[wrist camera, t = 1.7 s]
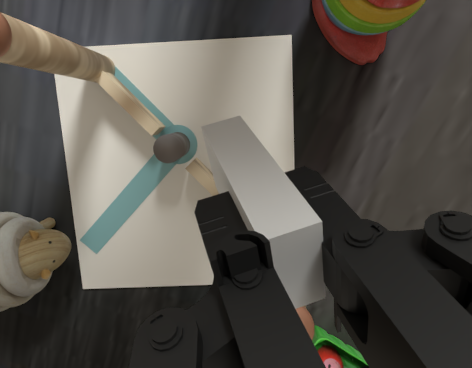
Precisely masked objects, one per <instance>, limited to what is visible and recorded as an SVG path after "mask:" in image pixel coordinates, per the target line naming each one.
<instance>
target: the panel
mask: <svg viewBox="0 0 472 368" xmlns="http://www.w3.org/2000/svg"><path fill="white" fill-rule="evenodd" d="M185 169H186V170H187V171H188V172H189V173H190V174H191V175H192V176H193V177H194V178H195V179H196V180H197V181H198V182H199V183H200V184H201V185H202V186H203V187H204V188H205V189H206V190H207V191H208V192H209V193H210V194H211V195H212V196H214V195H217V194H219V193H218V191H217V188H216V186H215V181H214V177H213V173H212V172H211V171H210V170H209V169H208V168H207V167H206V166H205V165H204V164H203V163H202V162H201V161H200V160H199V159H198V158H197V157H196V158H195V159H194V160H193V161H192V162H191V163H190V164H189V165H188V166H187V167H186V168H185ZM296 311H297V313H298V315H299V317H300V319H301V321H302V322H303V324H304V326H305V328H306V330H307V332H308V334H309V336H310V338H311V340H313V337H314V322H313V319H312V317H311V315H310V313H309V312H308V310H307V309H306V306H302V307H299V308H297V309H296Z"/></svg>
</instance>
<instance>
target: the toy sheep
mask: <svg viewBox="0 0 472 368" xmlns="http://www.w3.org/2000/svg"><path fill="white" fill-rule="evenodd" d="M54 226H55V220H54V219H53V218H47V219H45V220H43V221H41V222H38V221H36V220H34V219H32V218H28V217H23V216H22V215H20V214H17V213H14V212H0V312H1V311H4V310H6V309H8V308H10V307H16V306H19V305H22V304H24V303H26V302H27V301H28V300H30V299H31V298H32V297H33V296H34V294H36V293H38V292H40V291H41V290H42V289H43V288H44V287H45V286H46V285H47V283H48V282H49V280H50V278H51V275H52V272H53V271H54V270H55V269H56V268H58V267H59V266H60V265H61V264H62V263H63V262H64V261H65V260H66V258H67V257H68V255H69V253H70V250H71V241H70V239H69V238H68V236H66V235H65V234H64V233H62V232H60V231H58V230H53V229H51V228H53V227H54Z"/></svg>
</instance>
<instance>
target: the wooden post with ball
mask: <svg viewBox="0 0 472 368" xmlns="http://www.w3.org/2000/svg"><path fill="white" fill-rule="evenodd" d="M0 62H1V63H6V64H11V65H16V66H20V67H25V68H30V69H34V70H39V71H44V72H49V73H53V74H58V75H63V76H68V77H72V78H77V79H82V80H86V81H91V82H96V83H98V84H99V85H100V86H101V87H102V88H103V89H104V90H105V91H106V92H107V93H108V94H109V95H110V96H111V97H112V98H113V99H114V100H115V101H116V102H118V103H119V104H120V105H121V106H122V107H123V108H124V109H125V110H126V111H127V112H128V113H129V114H130V115H131V116H132V117H133V118H134V119H135V120H136V121H137V122H138V123H139V124H140V125H141V126H142V127H143V128H144V129H145V130H146V131H147V132H148V133H149V134H150V135H151V136H153V135H158V134H159V133H160V132H161V131H162V130H163V129H164V128H165V127H166V126H165V125H164V124H163V123H162V122H161V121H160V120H159V119H158V118H157V117H156V116H155V115H154V114H153V113H151V112H150V111H149V110H148V109H147V108H146V107H145V106H144V105H143V104H142V103H141V102H140V101H139V100H138V99H137V98H136V97H135V96H134V95H133V94H132V93H131V92H130V91H129V90H128V89H127V88H126V87H125V86H124V85H123V84H122V83H121V82H120V81H119V80H118V79H117V78H116V77H115V76H114V75H115V65H114V63H113V61H112V60H111V59H110V58H109V57H107V56H105V55H102V54H100V53H97V52H95V51H93V50H90V49H88V48H85V47H83V46H80V45H78V44H76V43H73V42H71V41H68V40H66V39H64V38H61V37H59V36H56V35H54V34H52V33H49V32H47V31H44V30H42V29H39V28H37V27H35V26H32V25H30V24H27V23H25V22H23V21H20V20H18V19H15V18H13V17H10V16H8V15H6V14H3V13H1V12H0ZM189 149H190V141H189V139H188V137H187V136H186V135H185V134H183V133H181V132H174V133H170V134H166V135H162V136H160V137H159V138H157V139H156V141H155V143H154V146H153V151H154V154H155V156H156V158H157V159H158V160H159V161H161V162H163V163H173V162H175V161H177V160H178V159H180V158H181V157H183V156H184V155H186V154H187V153H188V151H189Z"/></svg>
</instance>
